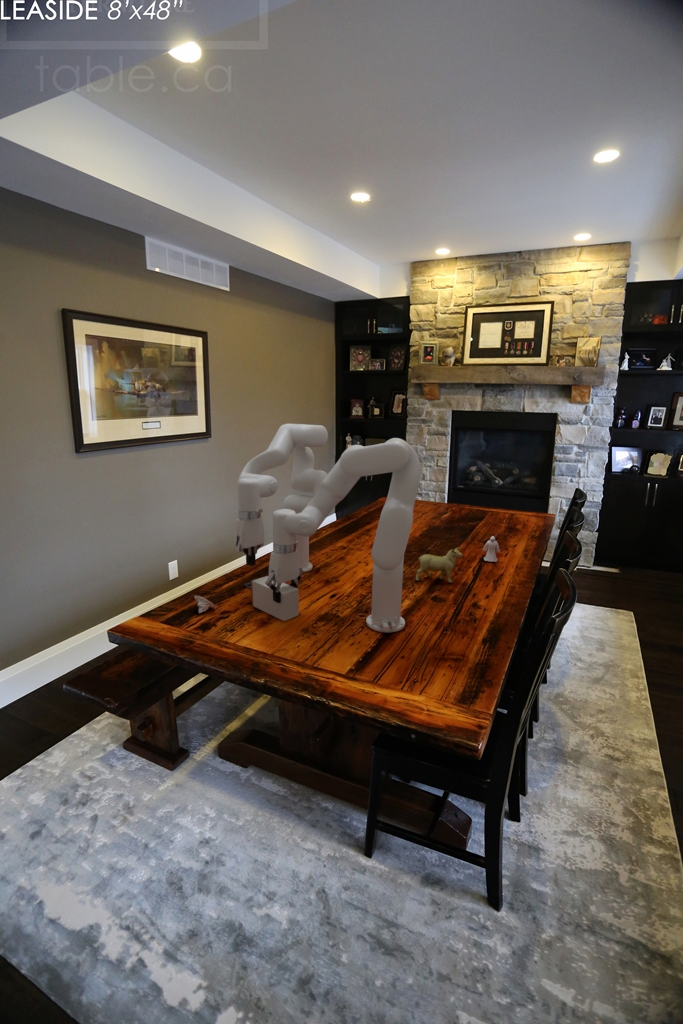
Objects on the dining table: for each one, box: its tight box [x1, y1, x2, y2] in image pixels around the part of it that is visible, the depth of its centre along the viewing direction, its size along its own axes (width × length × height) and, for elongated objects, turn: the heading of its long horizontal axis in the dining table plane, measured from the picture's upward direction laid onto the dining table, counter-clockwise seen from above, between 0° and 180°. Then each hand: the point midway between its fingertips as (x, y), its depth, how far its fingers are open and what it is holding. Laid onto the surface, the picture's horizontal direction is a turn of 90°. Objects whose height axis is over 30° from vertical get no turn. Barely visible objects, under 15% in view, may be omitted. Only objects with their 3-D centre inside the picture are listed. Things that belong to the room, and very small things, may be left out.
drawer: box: [242, 580, 253, 603], centre depth 173 cm, size 21×5×8 cm, turn 47°
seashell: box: [193, 595, 217, 614], centre depth 168 cm, size 8×5×8 cm
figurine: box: [482, 535, 501, 563], centre depth 223 cm, size 8×8×12 cm
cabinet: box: [251, 575, 300, 622], centre depth 170 cm, size 16×6×9 cm, turn 47°
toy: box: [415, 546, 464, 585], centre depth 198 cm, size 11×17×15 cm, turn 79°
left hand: (250, 564), depth 176 cm, fingers closed
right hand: (285, 598), depth 166 cm, fingers closed on cabinet, 6 cm apart
